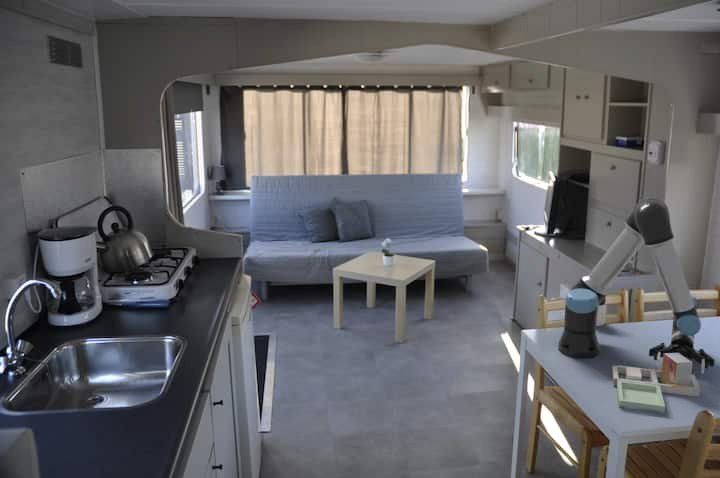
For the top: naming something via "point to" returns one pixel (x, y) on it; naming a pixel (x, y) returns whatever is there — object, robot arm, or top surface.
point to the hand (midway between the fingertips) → (680, 366)
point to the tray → (640, 396)
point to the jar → (601, 313)
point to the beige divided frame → (653, 375)
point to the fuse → (633, 374)
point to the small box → (676, 369)
